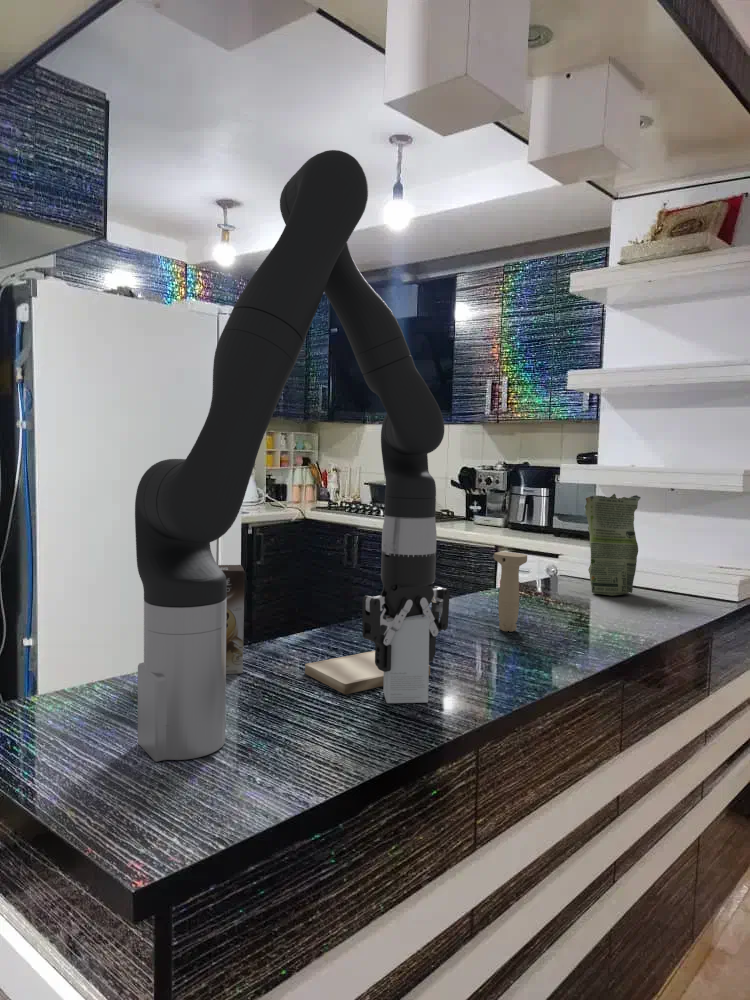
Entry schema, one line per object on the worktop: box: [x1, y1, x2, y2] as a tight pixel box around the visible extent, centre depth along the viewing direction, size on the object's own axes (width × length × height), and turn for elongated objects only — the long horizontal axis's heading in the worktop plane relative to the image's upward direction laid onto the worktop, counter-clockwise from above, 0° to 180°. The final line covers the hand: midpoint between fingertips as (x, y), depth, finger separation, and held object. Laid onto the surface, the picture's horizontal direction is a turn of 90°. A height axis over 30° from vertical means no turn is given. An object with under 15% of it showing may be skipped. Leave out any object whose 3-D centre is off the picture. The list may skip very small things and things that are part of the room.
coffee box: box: [217, 564, 246, 675], centre depth 110 cm, size 9×6×16 cm
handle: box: [493, 551, 528, 633], centre depth 138 cm, size 5×6×15 cm
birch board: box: [304, 650, 431, 695], centre depth 109 cm, size 16×11×2 cm
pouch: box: [584, 493, 641, 597], centre depth 177 cm, size 11×12×25 cm
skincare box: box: [382, 615, 430, 704], centre depth 99 cm, size 6×4×12 cm
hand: (405, 665), depth 99 cm, fingers closed on skincare box, 7 cm apart
